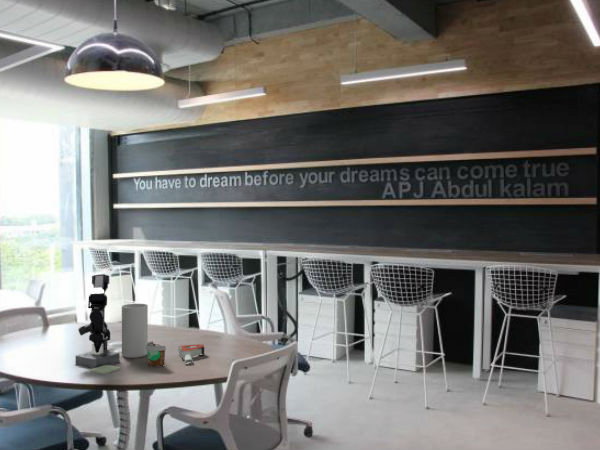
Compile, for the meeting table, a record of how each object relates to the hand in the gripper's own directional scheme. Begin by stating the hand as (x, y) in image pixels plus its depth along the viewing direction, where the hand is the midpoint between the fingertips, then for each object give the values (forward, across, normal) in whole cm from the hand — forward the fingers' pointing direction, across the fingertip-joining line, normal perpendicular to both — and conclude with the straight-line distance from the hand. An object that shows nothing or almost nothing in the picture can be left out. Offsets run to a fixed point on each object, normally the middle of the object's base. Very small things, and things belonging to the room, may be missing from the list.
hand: (97, 351), depth 269 cm
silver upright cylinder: (+6, 0, 0) cm, 6 cm away
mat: (+6, +14, +4) cm, 16 cm away
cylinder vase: (+6, -10, +17) cm, 20 cm away
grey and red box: (+6, +2, +43) cm, 43 cm away
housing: (+6, 0, 0) cm, 6 cm away
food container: (+6, +11, +26) cm, 28 cm away
